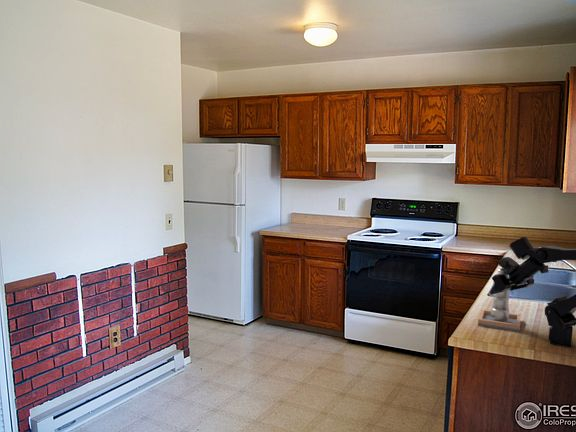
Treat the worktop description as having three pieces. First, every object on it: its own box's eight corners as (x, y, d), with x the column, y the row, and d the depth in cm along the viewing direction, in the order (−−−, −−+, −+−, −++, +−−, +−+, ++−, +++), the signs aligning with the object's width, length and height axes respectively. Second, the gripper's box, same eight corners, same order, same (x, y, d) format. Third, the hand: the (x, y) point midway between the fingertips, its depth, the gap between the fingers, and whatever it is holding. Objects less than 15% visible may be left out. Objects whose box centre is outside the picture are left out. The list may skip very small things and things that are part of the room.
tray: (520, 320, 193) (520, 314, 193) (519, 331, 181) (520, 325, 180) (480, 314, 200) (481, 309, 199) (477, 325, 187) (478, 319, 186)
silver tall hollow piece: (486, 318, 192) (490, 267, 191) (502, 317, 194) (505, 267, 192) (496, 323, 186) (500, 271, 184) (512, 322, 188) (516, 271, 186)
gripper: (529, 249, 188) (501, 272, 199) (498, 253, 179) (471, 276, 189) (547, 274, 183) (518, 295, 193) (516, 279, 173) (487, 302, 183)
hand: (498, 291), depth 190 cm, fingers open, 9 cm apart
